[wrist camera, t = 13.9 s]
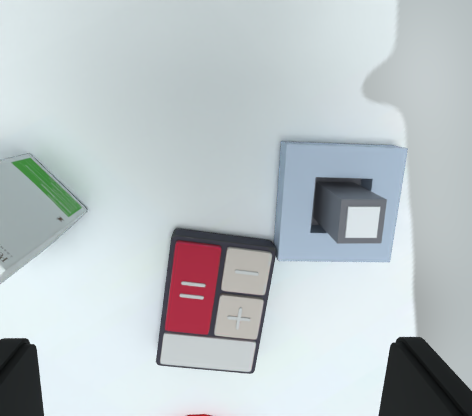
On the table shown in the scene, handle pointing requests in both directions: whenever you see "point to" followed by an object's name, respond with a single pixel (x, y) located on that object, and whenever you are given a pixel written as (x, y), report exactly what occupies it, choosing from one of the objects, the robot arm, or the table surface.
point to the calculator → (214, 301)
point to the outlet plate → (333, 170)
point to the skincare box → (31, 212)
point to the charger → (349, 212)
